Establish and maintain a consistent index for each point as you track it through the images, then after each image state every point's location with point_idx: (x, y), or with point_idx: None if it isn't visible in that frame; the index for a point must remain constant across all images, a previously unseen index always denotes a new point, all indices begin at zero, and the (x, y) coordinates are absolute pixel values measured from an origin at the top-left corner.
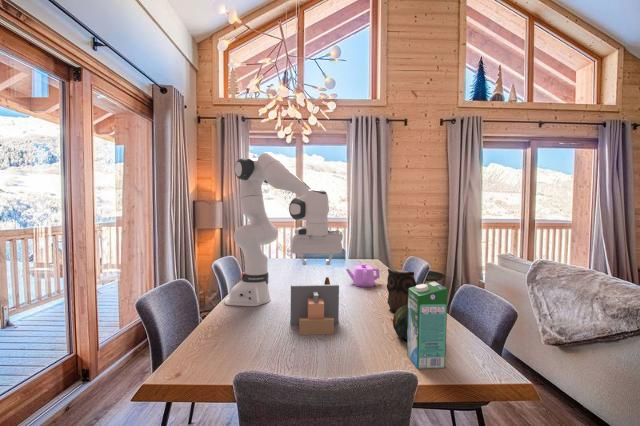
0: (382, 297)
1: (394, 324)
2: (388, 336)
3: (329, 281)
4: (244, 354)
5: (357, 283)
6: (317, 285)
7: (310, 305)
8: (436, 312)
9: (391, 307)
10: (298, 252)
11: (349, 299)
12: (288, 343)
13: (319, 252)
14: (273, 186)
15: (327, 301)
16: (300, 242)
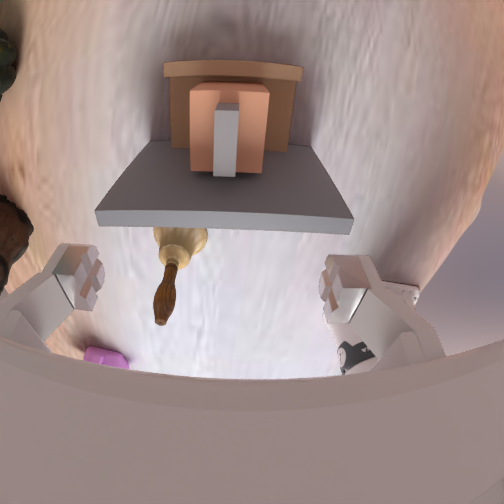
0: None
1: (4, 71)
2: (36, 63)
3: (153, 306)
4: (441, 13)
5: (116, 357)
6: (206, 216)
7: (260, 91)
8: None
9: (21, 225)
10: (483, 358)
11: (123, 299)
12: (336, 18)
13: (124, 387)
14: None
15: (169, 171)
16: (493, 498)
